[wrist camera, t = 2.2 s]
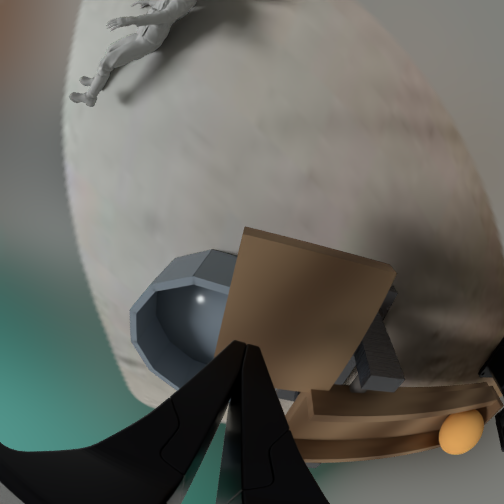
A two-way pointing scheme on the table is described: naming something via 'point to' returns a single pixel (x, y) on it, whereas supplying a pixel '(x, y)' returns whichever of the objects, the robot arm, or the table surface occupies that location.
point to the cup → (182, 315)
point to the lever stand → (369, 360)
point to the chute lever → (332, 350)
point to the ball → (461, 431)
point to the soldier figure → (134, 42)
